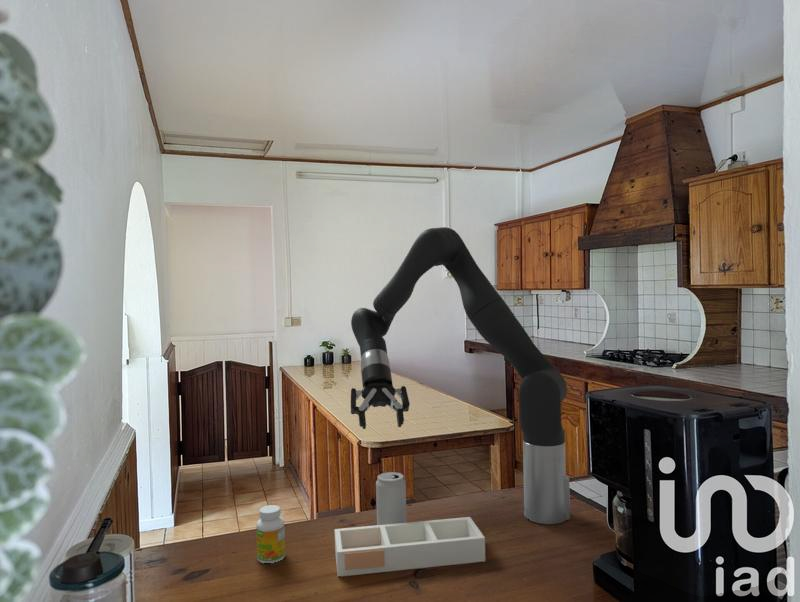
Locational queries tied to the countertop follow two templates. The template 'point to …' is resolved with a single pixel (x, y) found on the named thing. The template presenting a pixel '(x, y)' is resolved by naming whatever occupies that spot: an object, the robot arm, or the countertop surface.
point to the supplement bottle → (270, 535)
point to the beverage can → (391, 498)
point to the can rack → (408, 546)
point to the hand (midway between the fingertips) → (382, 426)
